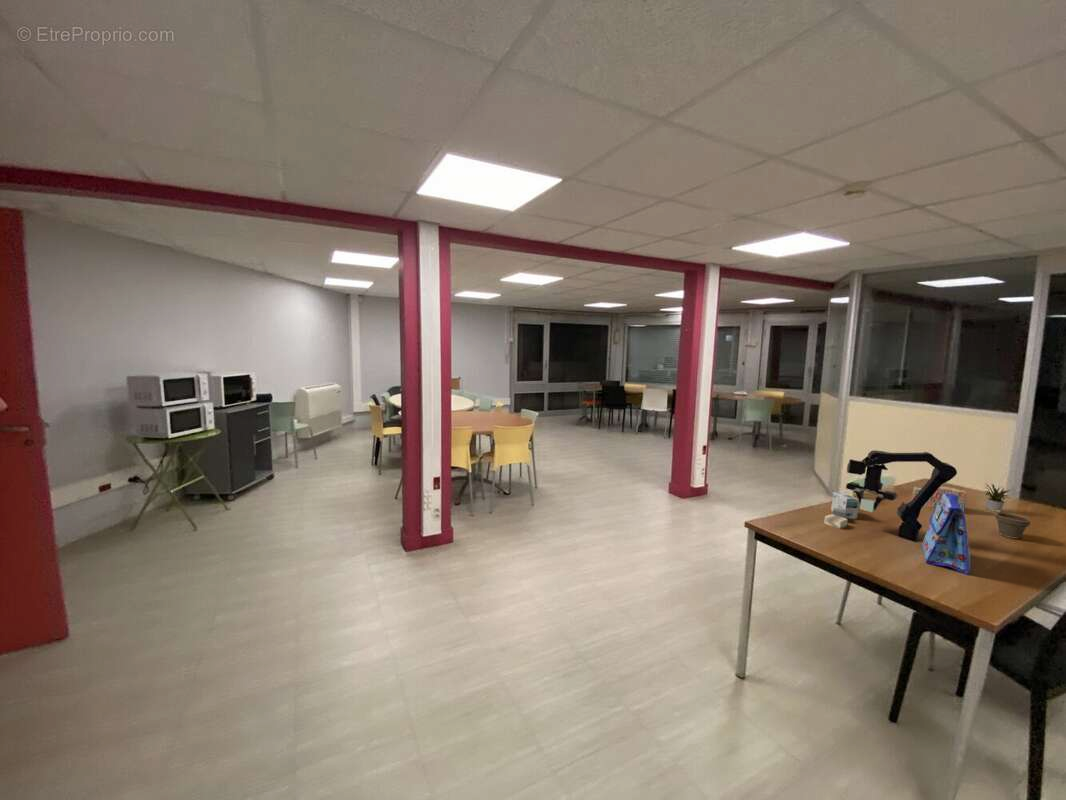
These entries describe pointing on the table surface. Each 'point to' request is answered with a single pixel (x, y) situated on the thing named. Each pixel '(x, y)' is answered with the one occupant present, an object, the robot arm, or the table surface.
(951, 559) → the lunch bag
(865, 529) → the table surface
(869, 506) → the sage block
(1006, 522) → the flower pot
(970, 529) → the table surface
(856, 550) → the table surface
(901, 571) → the table surface
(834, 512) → the grey block
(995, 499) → the house plant
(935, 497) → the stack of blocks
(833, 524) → the birch slab
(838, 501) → the light bulb box
